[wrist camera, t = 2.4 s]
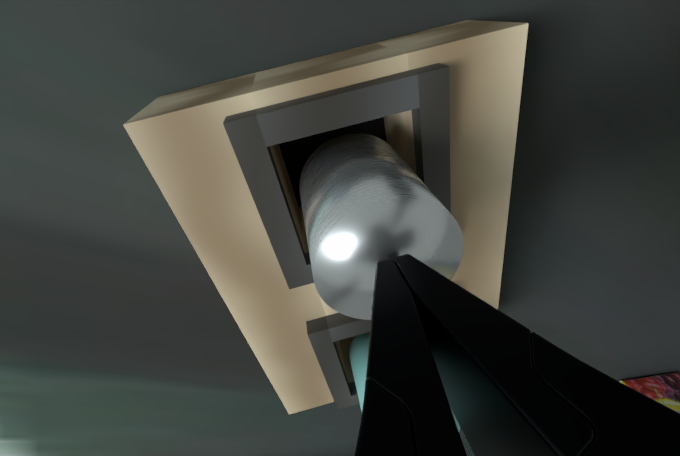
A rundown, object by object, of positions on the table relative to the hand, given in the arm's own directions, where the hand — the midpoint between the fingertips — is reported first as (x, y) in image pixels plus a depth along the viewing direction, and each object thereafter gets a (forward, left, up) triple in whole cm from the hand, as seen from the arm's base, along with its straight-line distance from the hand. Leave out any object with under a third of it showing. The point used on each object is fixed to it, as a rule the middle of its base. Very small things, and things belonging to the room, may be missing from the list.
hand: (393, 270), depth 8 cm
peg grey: (0, 0, -5) cm, 5 cm away
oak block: (0, +5, -9) cm, 10 cm away
